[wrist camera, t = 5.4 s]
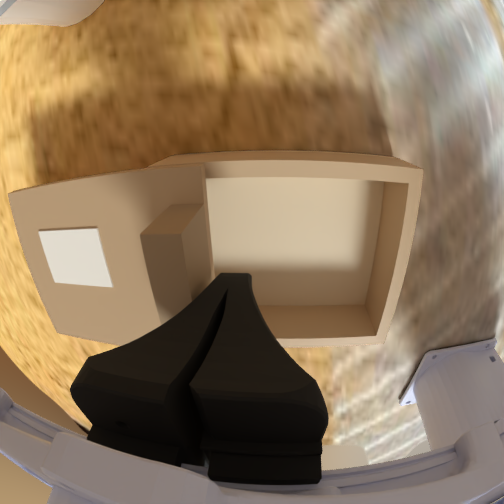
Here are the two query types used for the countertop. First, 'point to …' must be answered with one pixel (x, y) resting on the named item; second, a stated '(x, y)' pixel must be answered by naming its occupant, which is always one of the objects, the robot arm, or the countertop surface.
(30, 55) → the countertop surface
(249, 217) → the mailer
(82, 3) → the white cup
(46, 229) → the lid
